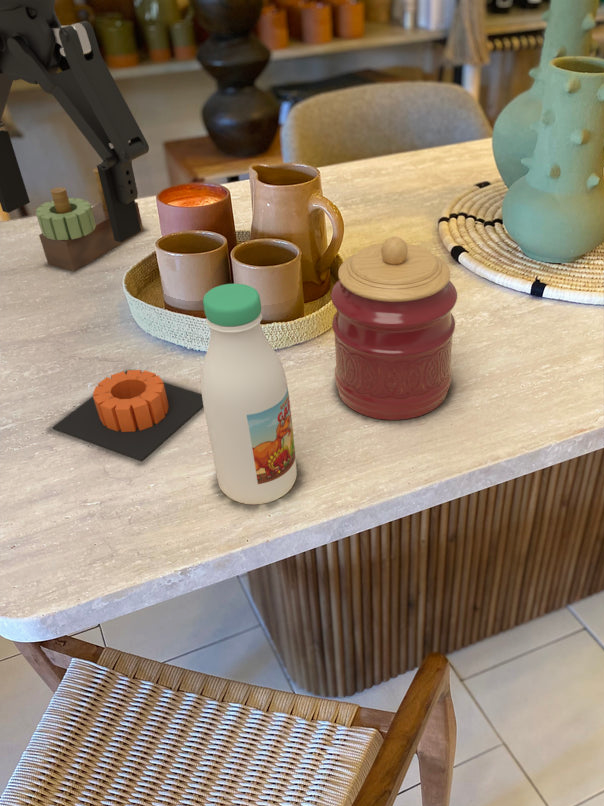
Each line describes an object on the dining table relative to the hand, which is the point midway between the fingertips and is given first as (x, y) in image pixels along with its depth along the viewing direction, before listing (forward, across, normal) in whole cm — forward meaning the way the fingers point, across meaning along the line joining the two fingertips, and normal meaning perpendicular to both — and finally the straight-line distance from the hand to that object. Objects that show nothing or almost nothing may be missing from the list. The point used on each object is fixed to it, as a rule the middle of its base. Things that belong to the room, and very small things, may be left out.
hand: (70, 221), depth 71 cm
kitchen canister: (+20, -26, -16) cm, 37 cm away
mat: (+20, -3, +1) cm, 21 cm away
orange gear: (+20, -3, +1) cm, 20 cm away
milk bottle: (+20, -21, +4) cm, 30 cm away
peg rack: (+21, +29, -29) cm, 46 cm away
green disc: (+16, +29, -24) cm, 41 cm away
